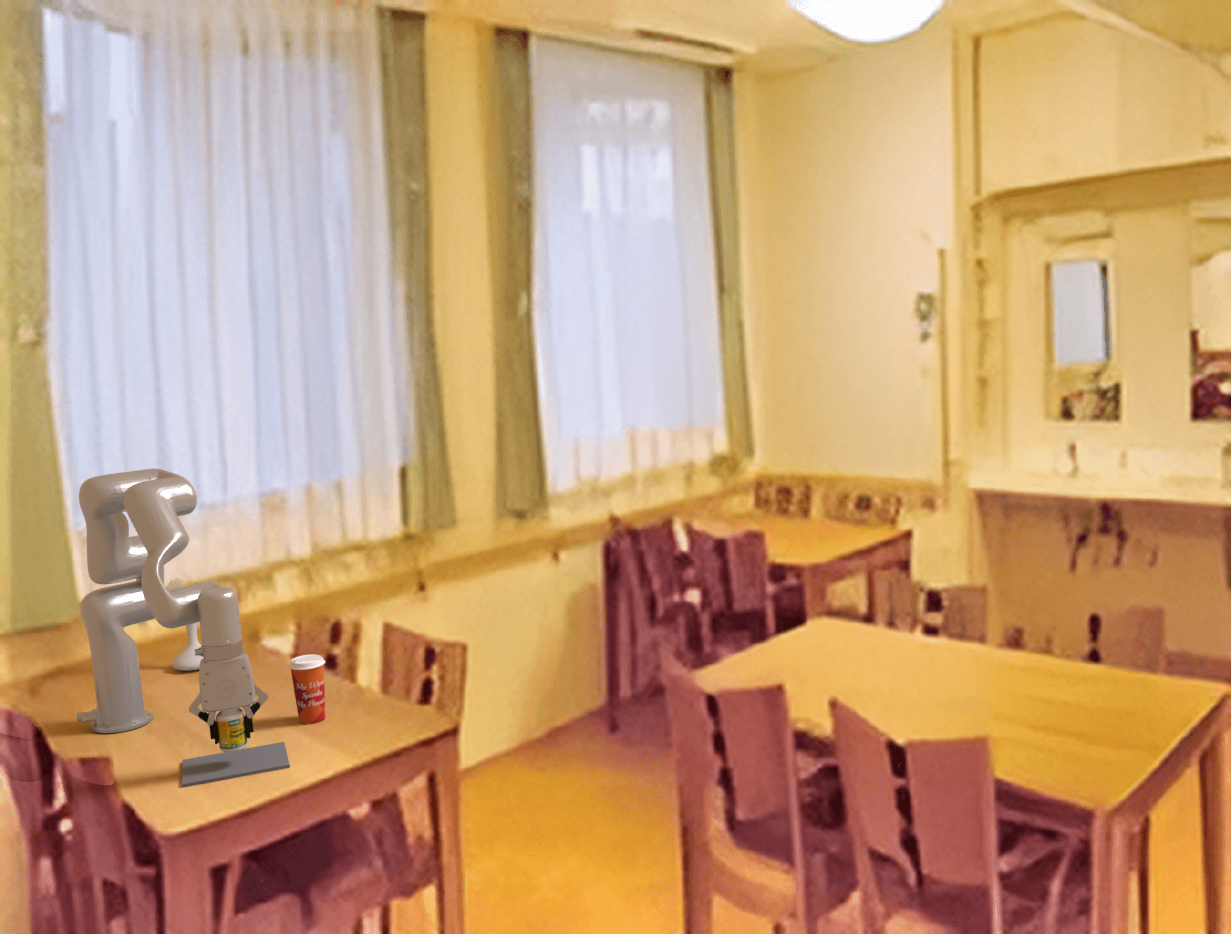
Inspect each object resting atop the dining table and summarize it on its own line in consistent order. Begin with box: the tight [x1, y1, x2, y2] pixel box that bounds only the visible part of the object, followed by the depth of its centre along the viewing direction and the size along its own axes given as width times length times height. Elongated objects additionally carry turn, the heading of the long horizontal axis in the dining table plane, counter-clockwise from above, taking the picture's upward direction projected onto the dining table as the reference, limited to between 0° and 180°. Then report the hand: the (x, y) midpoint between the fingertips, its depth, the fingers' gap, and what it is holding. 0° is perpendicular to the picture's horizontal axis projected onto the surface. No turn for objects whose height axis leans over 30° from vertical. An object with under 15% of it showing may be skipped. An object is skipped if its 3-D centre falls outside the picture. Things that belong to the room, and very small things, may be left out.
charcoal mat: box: [181, 741, 291, 788], centre depth 225 cm, size 20×14×1 cm
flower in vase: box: [165, 577, 203, 672], centre depth 294 cm, size 13×11×25 cm
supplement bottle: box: [215, 707, 248, 753], centre depth 223 cm, size 5×5×10 cm
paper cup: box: [288, 653, 326, 725], centre depth 248 cm, size 8×8×14 cm
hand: (232, 738), depth 223 cm, fingers closed on supplement bottle, 5 cm apart
